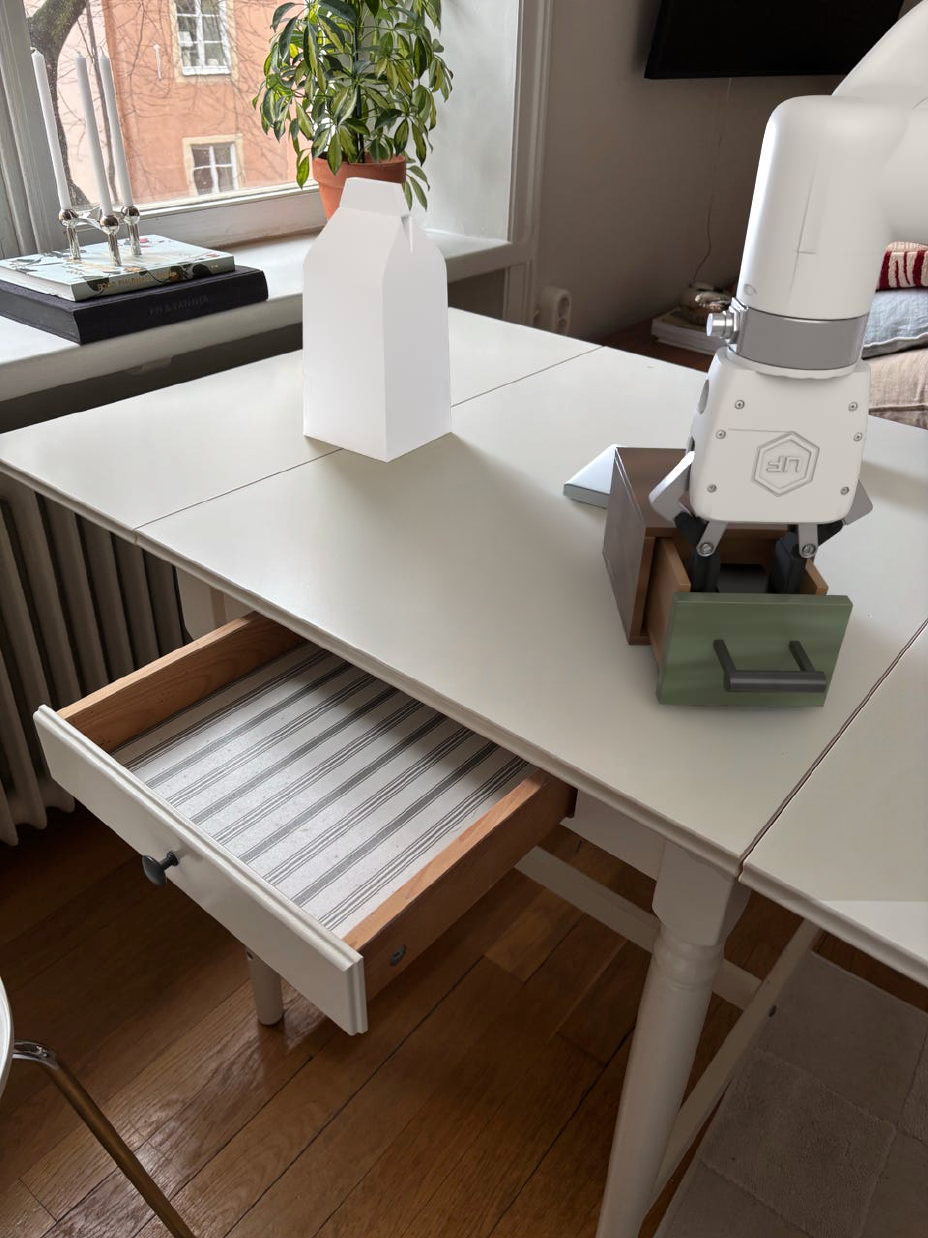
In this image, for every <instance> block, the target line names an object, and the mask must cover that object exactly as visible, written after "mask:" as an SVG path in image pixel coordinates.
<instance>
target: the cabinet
mask: <svg viewBox="0 0 928 1238" xmlns="http://www.w3.org/2000/svg"><path fill="white" fill-rule="evenodd" d="M685 452H686V448H680V447H679V448H675V447H673V448H672V447H671V448H670V447H637V446H636V447H633V446H626V447H615V454H614V462H613V470H612V478H611V486H610V495H609V503H608V508H607V512H606V519H605V526H604V536H603V544H602V553H601V554H602V557H603V560H604V564H605V567H606V571H607V574H608V578H609V582H610V585H611V589H612V592H613V597H614V600H615V602H616V607H617V610H618V613H619V617H620V621H621V623H622V626H623V630H624V634H625V638H626V642H627V644H628V646H652V645H651V642H650V638H649V635H648V632H647V629H646V626H645V623H644V620H643V613H644V607H645V600H646V594H647V588H648V581H649V575H650V568H651V562H652V556H653V549H654V543H655V537H684V536H683V535H682V533H681V532H680V531H679V530H678V529H677V527H676V526H675V525H673V524H672V523H671V522H668V521H667V520H666V519H665V518H663V517H662V516H661V515H659V514H658V513H657V512H656V511H654V510H653V508H652V506H651V504H650V501H649V494H650V493H651V492H652V491H653V490H654V489H655V488H656V487H657V486H658V485H659V484H660V482H661V481H662V480H663V479H664V478H665V477H666V476H667V475H668V474H669V473H670V472H671V471H672V470H673V469H674V468H675V467H676V466H677V465H678V464H679V463H680V462H681V461H682V460H683V459H684V458H685ZM679 502H680V503H681V504H682V505H685V506H687V507H688V508H689V509H690V510H691V511H692V512H693V514H694V515H695V514H696V513H695V511H694V510H693V508H692V506H691V503H690V493H689V492H688V491H686V492H685V493H684V494H683V495H682V496H681V497H680V499H679ZM786 534H787V524H748V523H728V525H727V527H726V529H725V531H724V533H723V535H722V537H721V538H739V539H780V537H785V535H786ZM816 555H817V553H816V554H815V555H814V556H813V557H811V558H810V559H811V561H812V562H813V564H814V562H815V558H816Z"/></svg>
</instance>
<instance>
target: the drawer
mask: <svg viewBox="0 0 928 1238" xmlns="http://www.w3.org/2000/svg"><path fill="white" fill-rule="evenodd" d="M779 540H780V539H739V538H721V539H720V541H719V543H718V549H717V551H718V553H719V555H720V557H721V563H723V564H761V565H762V566H763V568H764V570H765V572H766V574H767V575H768V577H769V574H770V570H771V566H772V561H773V557H774V552H775V548H776V544H777V541H779ZM692 547H693V545H692V544H691V543H690V542H689V541H688V540H687V539H686V538H685V537H655V543H654V549H653V556H652V562H651V568H650V575H649V581H648V588H647V594H646V600H645V607H644V613H643V620H644V623H645V626H646V629H647V632H648V635H649V638H650V642H651V645H650V646H651V648H652V651H653V654H654V658H655V660H656V663H657V666H658V669H659V673H658V678H657V684H656V689H655V697H656V700H657V703H658V705H676V706H677V705H678V706H679V705H680V706H681V705H682V706H688V705H689V706H739V707H740V706H741V707H746V706H747V707H750V706H751V707H799V708H801V707H804V708H805V707H807V708H810V707H811V708H823V707H824V706H825V703H826V699H827V696H828V693H829V689H830V685H831V682H832V679H833V676H834V672H835V669H836V665H837V662H838V659H839V655H840V652H841V648H842V645H843V642H844V638H845V634H846V632H847V628H848V625H849V621H850V618H851V614H852V611H853V608H854V603H853V602H852V600H851V598H850V597H849V595H846V594H828V592H829V586H828V584H827V582H826V581H825V579H824V578H823V575H821V573H820V571H819V570H818V569H817V567H816V565H815V564H814V563H813V562H812V561H811V559H810V558H807V562H806V566H805V570H804V574H803V578H802V582H801V586H800V590H799V591H798V592H794V594H753V593H701V592H695V591H691V590H690V588H691V583H690V581H689V578H688V570H689V565H690V559H691V553H692Z"/></svg>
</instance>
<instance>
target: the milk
mask: <svg viewBox="0 0 928 1238" xmlns="http://www.w3.org/2000/svg"><path fill="white" fill-rule="evenodd" d="M338 205H339V207H337V209H336V210H335V211H334V213H333V214H332V215H331V217H330V218H329V219H328V221H327V223H326V224H325V226H323V228H322V230H321V231H320V233H319V234H318V236H316V238H315V240H314V241H313V243H312V244H311V246H310V247H309V249H308V250H307V253H306V255H305V257H304V260H303V264H302V395H303V396H302V399H303V400H302V404H303V406H302V408H303V412H302V413H303V415H302V416H303V418H302V419H303V420H302V425H303V431H302V432H303V436H305V437H309V438H311V439H315V440H317V441H321V442H323V443H326V444H329V445H332V446H336V447H339V448H341V449H345V450H348V451H350V452H354V453H356V454H358V455H359V454H360V455H363V456H365V457H368V458H372V459H375V460H377V461H378V460H379V461H380V462H384V463H389V462H391V461H393V460H395V459H398V458H399V457H401V456H404V455H405V454H408V453H409V452H412V451H414V450H417V449H418V448H420V447H423V446H424V445H427V444H429V443H430V442H431V443H432V442H433V441H435V440H437V439H440V438H441V437H443V436H446V435H447V434H450V433H452V431H453V426H452V425H453V424H452V423H453V422H452V394H451V391H452V390H451V365H450V364H451V363H450V332H449V329H450V327H449V303H448V302H449V301H448V299H449V298H448V270H447V263H446V260H445V257H444V255H443V253H442V252H441V250H440V249H439V248H438V246H437V245H436V244H435V242H433V240H432V239H431V238H430V236H429V235H428V234H427V233H426V231H424V230H423V228H422V227H421V226H420V224H418V223H417V221H416V220H415V219H414V217H412V216H411V212H410V209H409V205H408V202H407V197H406V195H405V192H404V189H403V185H402V183H398V182H391V181H385V180H377V179H371V178H365V177H358V176H353V177H347V178H346V179H345V183H344V187H343V189H342V193H341V197H340V201H339V204H338Z"/></svg>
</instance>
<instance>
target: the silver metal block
mask: <svg viewBox="0 0 928 1238" xmlns="http://www.w3.org/2000/svg"><path fill="white" fill-rule="evenodd" d="M715 593H753V594H778V593H777V591H776V590H775V588H774V586H773V584H772V582H771V581H770V579H769V577H768V575H767V574H766V572H765V570H764V568H763V566H762V565H761V564H723V563H721V566H720V571H719V577H718V582H717V587H716V592H715Z"/></svg>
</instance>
